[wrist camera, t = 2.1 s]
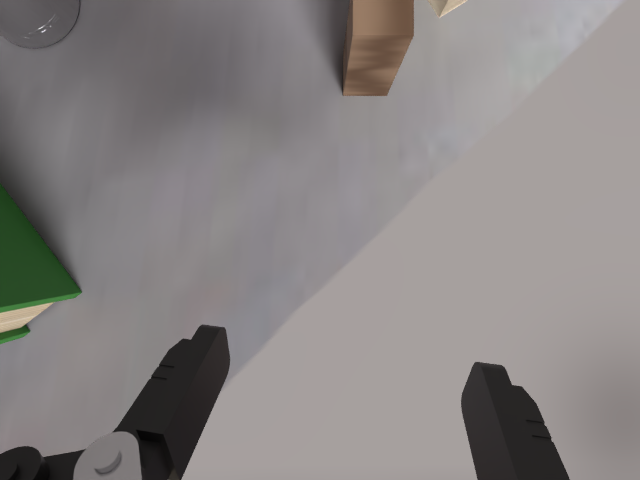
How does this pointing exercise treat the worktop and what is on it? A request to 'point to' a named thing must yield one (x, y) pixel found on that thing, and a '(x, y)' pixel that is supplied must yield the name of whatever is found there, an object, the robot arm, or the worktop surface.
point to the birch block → (444, 6)
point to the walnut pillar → (375, 44)
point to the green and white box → (26, 272)
